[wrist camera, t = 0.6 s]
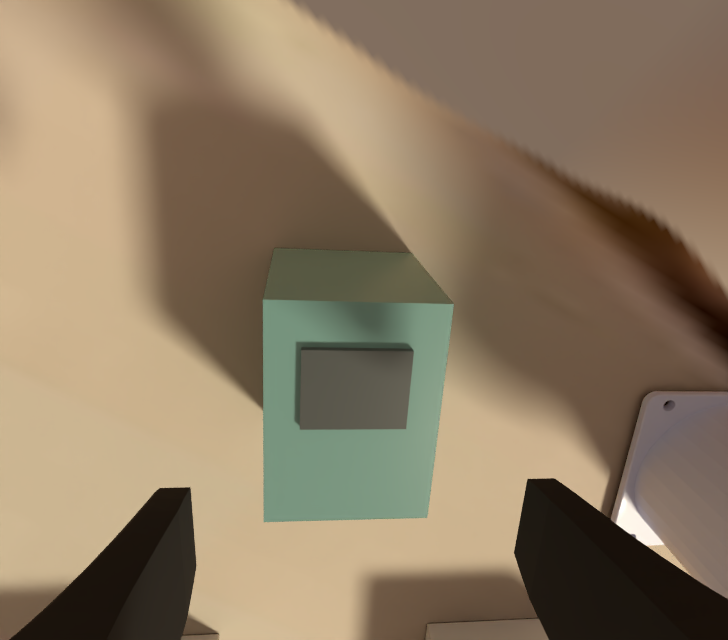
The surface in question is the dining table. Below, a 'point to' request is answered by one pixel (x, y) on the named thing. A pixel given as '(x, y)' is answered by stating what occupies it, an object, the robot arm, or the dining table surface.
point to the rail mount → (465, 631)
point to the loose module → (351, 384)
